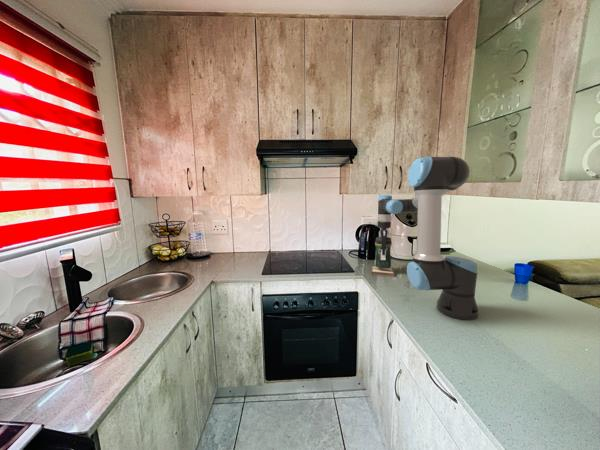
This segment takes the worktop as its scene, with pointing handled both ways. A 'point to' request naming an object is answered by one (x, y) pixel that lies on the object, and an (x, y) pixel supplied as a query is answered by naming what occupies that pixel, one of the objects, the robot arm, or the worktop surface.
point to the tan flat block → (382, 271)
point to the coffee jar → (378, 261)
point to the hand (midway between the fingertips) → (382, 257)
